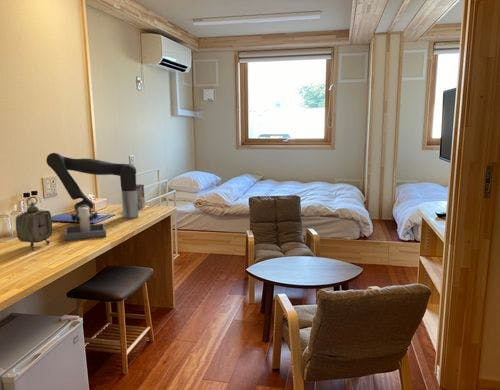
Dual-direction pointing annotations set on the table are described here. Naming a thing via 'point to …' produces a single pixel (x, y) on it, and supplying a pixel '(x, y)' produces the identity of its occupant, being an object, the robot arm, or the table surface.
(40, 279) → the table surface
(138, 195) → the coffee box
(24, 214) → the tabletop clock
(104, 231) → the tray
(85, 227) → the canister
